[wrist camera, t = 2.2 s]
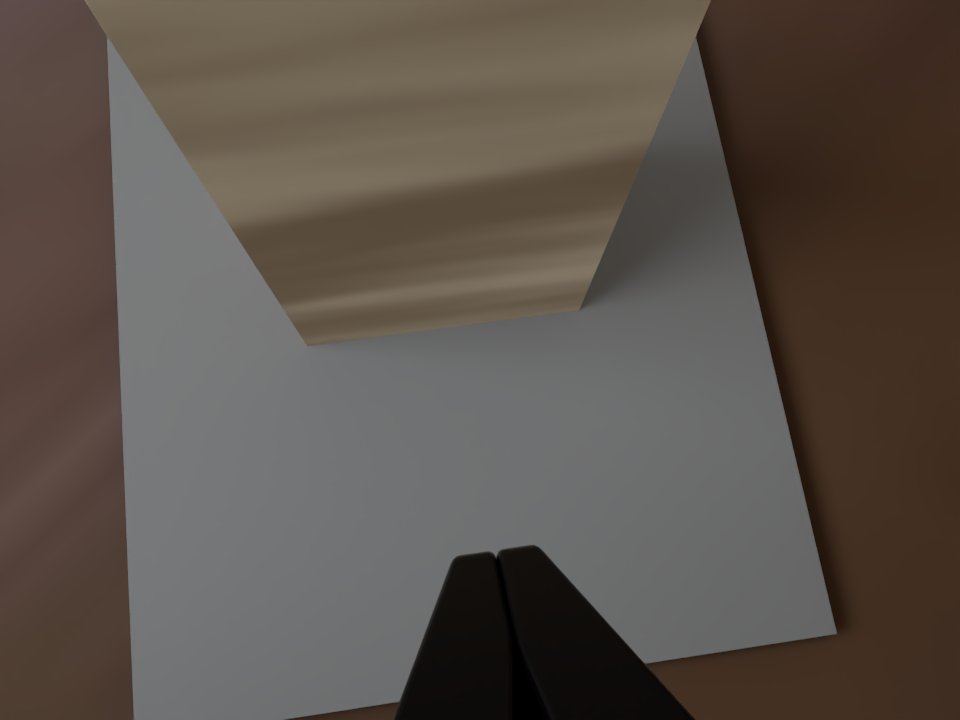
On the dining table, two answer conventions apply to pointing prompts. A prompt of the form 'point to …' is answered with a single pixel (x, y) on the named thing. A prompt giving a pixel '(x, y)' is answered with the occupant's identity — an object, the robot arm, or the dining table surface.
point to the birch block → (411, 143)
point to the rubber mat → (443, 446)
